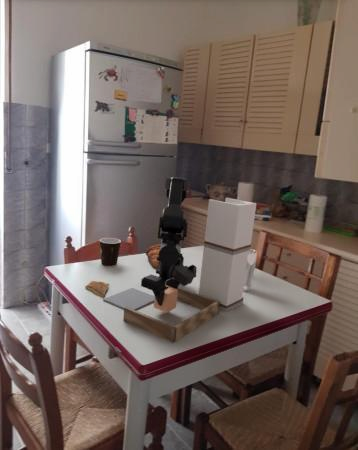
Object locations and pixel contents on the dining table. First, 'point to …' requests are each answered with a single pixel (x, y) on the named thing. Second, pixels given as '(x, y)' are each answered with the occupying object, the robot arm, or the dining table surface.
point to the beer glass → (249, 269)
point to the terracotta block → (168, 300)
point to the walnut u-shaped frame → (182, 328)
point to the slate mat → (130, 299)
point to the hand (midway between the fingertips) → (165, 302)
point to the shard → (97, 287)
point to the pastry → (153, 255)
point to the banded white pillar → (226, 251)
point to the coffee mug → (109, 251)
